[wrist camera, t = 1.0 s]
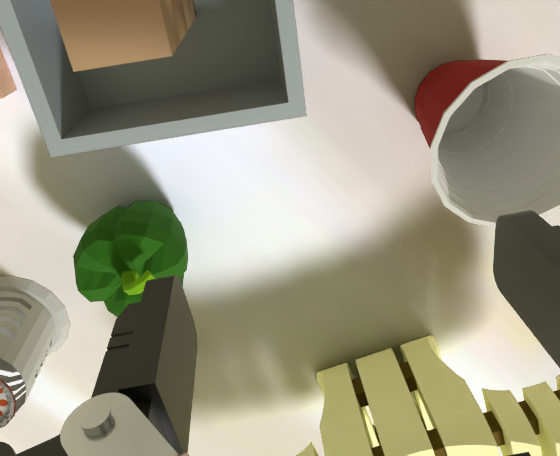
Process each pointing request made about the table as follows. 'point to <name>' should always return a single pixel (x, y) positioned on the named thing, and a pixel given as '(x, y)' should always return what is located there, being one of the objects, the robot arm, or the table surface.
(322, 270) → the table surface
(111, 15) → the walnut stick
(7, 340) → the french press
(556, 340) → the robot arm
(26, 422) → the table surface
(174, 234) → the bell pepper
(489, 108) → the plastic cup
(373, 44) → the table surface
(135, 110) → the grey tub
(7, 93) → the terracotta tray
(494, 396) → the slatted curved stool
